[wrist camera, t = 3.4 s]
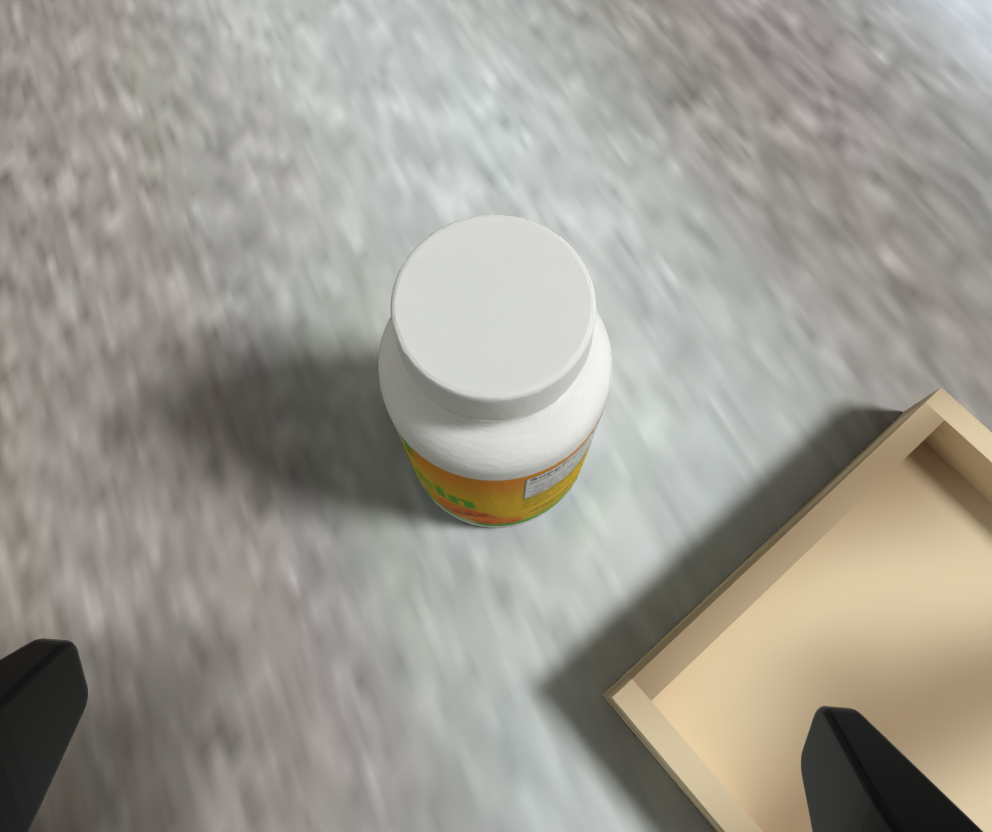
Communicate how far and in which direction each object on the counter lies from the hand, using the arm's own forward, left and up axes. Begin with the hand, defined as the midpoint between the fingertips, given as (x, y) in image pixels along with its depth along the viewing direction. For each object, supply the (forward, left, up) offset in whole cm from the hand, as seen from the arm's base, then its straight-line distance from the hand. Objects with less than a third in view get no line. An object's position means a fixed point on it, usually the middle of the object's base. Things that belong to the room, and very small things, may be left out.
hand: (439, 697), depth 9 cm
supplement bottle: (+5, -5, -13) cm, 15 cm away
